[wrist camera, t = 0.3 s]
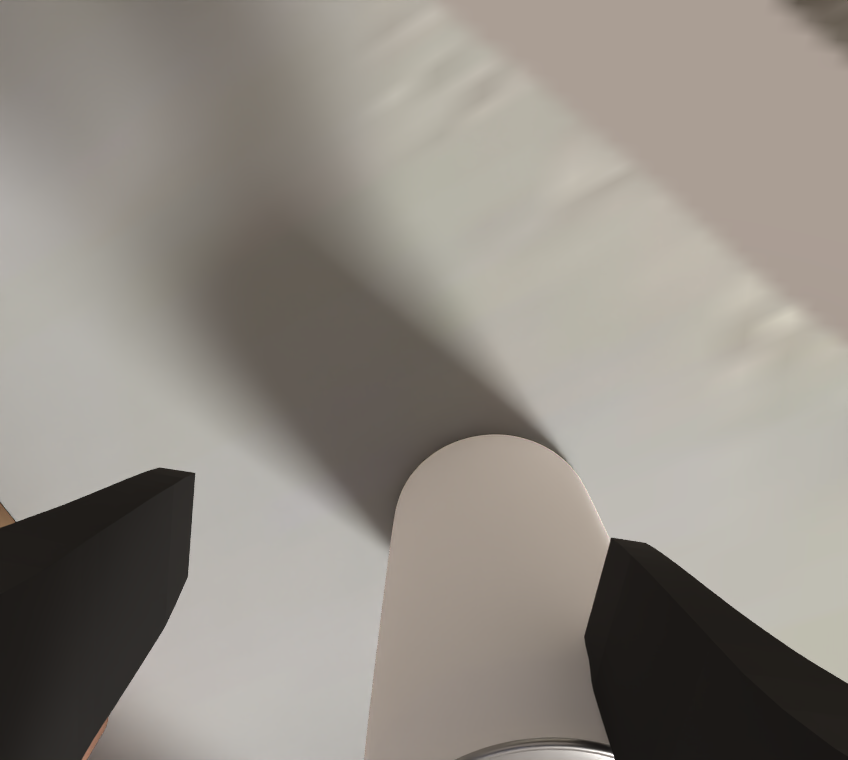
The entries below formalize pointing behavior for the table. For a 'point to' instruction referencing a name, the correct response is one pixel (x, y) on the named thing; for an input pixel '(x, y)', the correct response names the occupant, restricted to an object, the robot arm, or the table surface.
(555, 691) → the can
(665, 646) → the robot arm
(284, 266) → the table surface
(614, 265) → the table surface
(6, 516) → the socket block
